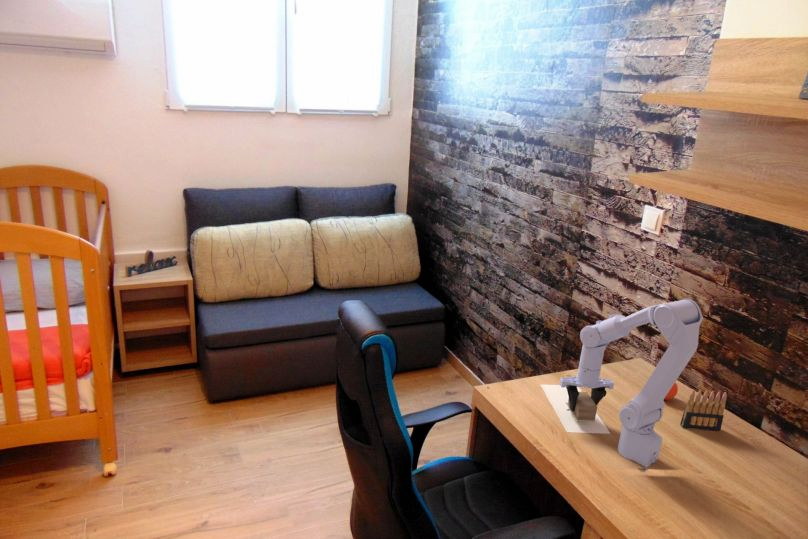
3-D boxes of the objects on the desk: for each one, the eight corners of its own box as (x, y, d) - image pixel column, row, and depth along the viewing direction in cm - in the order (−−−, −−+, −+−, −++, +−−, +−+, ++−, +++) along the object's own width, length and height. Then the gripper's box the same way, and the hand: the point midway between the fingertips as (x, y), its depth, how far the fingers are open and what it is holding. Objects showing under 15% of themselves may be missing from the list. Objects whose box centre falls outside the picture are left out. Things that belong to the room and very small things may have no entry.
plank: (609, 437, 164) (610, 433, 163) (566, 436, 163) (567, 432, 162) (577, 389, 188) (577, 385, 188) (539, 387, 187) (540, 384, 187)
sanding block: (594, 421, 166) (597, 406, 164) (576, 421, 165) (579, 406, 164) (584, 406, 173) (587, 392, 172) (567, 405, 173) (569, 391, 171)
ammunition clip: (717, 427, 173) (727, 390, 169) (720, 431, 171) (730, 393, 168) (679, 424, 173) (689, 387, 169) (682, 428, 171) (692, 390, 168)
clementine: (646, 389, 192) (651, 369, 189) (668, 391, 192) (673, 371, 189) (655, 402, 184) (660, 382, 182) (678, 404, 184) (683, 384, 182)
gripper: (610, 360, 169) (601, 403, 173) (559, 358, 168) (552, 401, 172) (620, 372, 162) (610, 416, 166) (567, 370, 161) (559, 414, 165)
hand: (581, 409), depth 169 cm, fingers closed on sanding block, 5 cm apart
